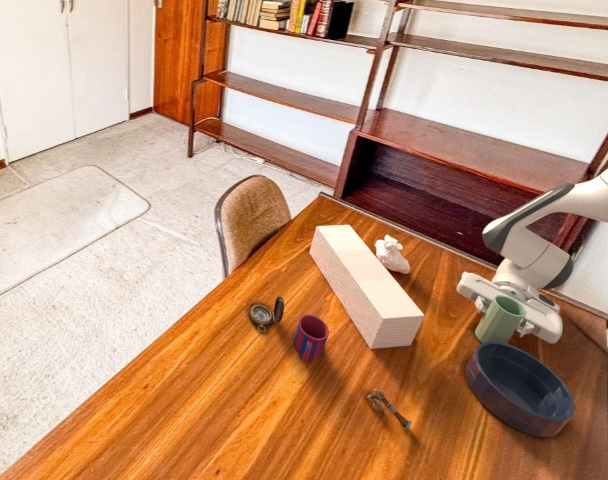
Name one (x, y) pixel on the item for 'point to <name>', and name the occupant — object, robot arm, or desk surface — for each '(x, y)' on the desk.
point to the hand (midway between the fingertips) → (499, 323)
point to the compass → (267, 314)
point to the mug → (310, 337)
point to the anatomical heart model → (391, 255)
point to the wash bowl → (519, 389)
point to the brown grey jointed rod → (390, 407)
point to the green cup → (500, 320)
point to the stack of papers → (365, 288)
